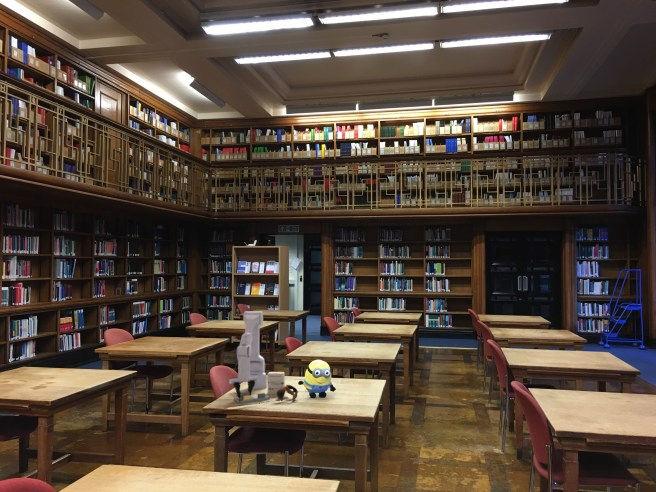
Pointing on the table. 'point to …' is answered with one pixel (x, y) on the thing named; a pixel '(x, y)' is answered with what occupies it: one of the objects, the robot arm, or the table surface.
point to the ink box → (275, 381)
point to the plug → (243, 394)
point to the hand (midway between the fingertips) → (244, 396)
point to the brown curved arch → (287, 389)
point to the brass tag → (246, 397)
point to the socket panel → (252, 399)
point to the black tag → (261, 395)
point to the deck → (233, 394)
